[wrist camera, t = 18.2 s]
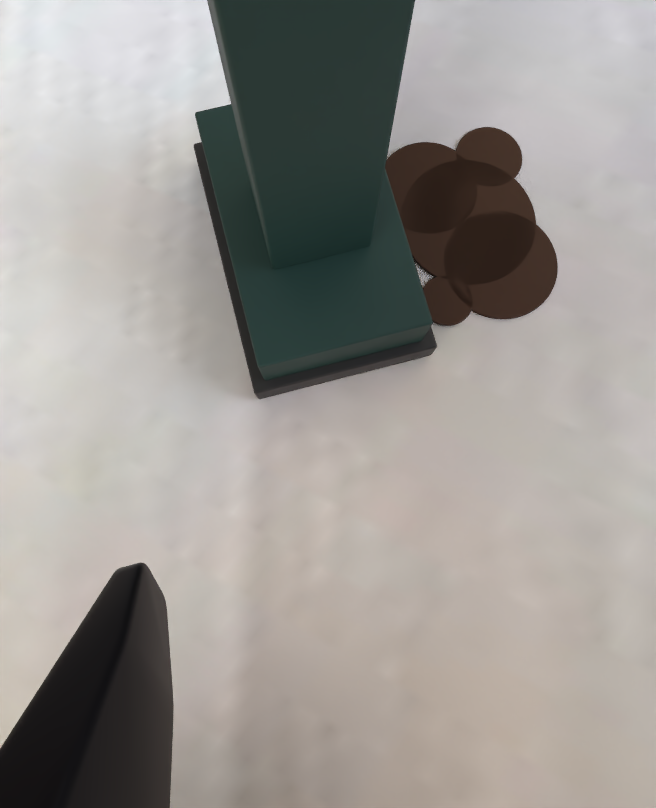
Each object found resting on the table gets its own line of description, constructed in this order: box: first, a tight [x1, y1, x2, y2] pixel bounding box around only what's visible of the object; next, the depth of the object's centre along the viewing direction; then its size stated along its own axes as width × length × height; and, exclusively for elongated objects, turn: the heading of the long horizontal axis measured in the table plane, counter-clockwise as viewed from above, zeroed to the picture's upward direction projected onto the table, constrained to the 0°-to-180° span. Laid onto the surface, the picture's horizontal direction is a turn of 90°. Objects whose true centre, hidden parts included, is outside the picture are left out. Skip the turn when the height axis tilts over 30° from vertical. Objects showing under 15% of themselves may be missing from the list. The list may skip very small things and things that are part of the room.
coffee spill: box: [385, 127, 557, 326], centre depth 20 cm, size 7×6×1 cm
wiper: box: [194, 0, 437, 399], centre depth 13 cm, size 9×6×13 cm, turn 15°
